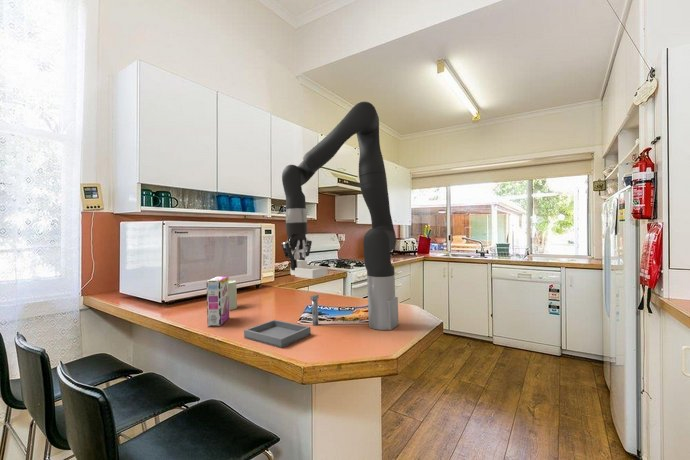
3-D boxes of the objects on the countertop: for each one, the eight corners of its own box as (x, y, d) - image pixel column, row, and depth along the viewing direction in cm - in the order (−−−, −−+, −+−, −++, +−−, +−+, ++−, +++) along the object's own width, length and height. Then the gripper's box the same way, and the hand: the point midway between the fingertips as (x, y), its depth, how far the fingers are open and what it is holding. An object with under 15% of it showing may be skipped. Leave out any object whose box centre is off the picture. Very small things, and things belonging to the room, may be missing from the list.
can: (242, 306, 139) (241, 279, 139) (224, 312, 131) (223, 283, 131) (228, 304, 144) (227, 278, 144) (210, 309, 136) (209, 282, 136)
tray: (310, 334, 100) (310, 326, 100) (281, 348, 89) (281, 339, 89) (274, 326, 109) (274, 319, 109) (244, 337, 99) (243, 330, 99)
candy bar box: (221, 326, 112) (219, 280, 111) (207, 327, 111) (205, 281, 111) (230, 317, 123) (228, 275, 123) (217, 318, 122) (215, 276, 122)
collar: (327, 275, 111) (327, 261, 111) (312, 279, 104) (312, 263, 104) (301, 272, 118) (301, 259, 118) (286, 275, 111) (285, 261, 111)
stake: (320, 323, 111) (319, 295, 110) (315, 326, 108) (313, 296, 108) (316, 323, 112) (315, 294, 112) (310, 325, 109) (309, 296, 109)
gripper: (289, 221, 105) (291, 272, 105) (317, 221, 117) (318, 267, 117) (274, 222, 110) (276, 271, 110) (302, 221, 121) (303, 266, 121)
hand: (298, 269), depth 113 cm, fingers closed on collar, 3 cm apart
